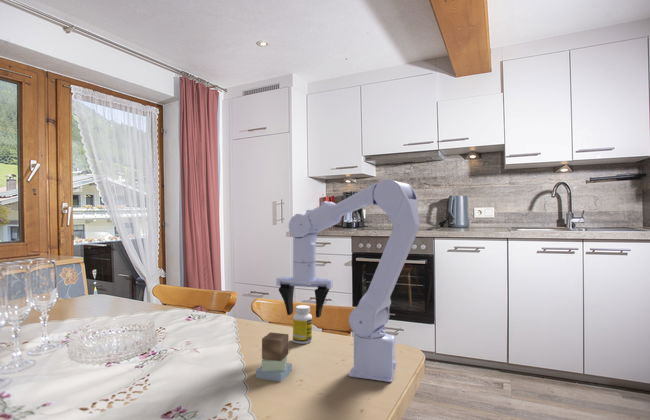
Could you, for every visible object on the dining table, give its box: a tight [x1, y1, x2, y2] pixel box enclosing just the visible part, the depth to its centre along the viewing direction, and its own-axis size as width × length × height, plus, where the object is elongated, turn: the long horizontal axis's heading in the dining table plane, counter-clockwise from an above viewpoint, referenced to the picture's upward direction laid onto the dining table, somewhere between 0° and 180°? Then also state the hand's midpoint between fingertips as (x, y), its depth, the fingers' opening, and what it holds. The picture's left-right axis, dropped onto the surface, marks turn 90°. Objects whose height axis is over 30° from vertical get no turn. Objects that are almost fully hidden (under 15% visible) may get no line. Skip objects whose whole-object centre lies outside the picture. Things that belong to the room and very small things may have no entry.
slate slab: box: [255, 362, 293, 383], centre depth 83 cm, size 6×6×2 cm
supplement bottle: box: [292, 304, 313, 345], centre depth 105 cm, size 5×5×10 cm
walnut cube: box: [261, 332, 289, 361], centre depth 84 cm, size 4×4×4 cm
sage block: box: [261, 355, 288, 371], centre depth 83 cm, size 5×5×2 cm
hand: (304, 315), depth 94 cm, fingers open, 7 cm apart
